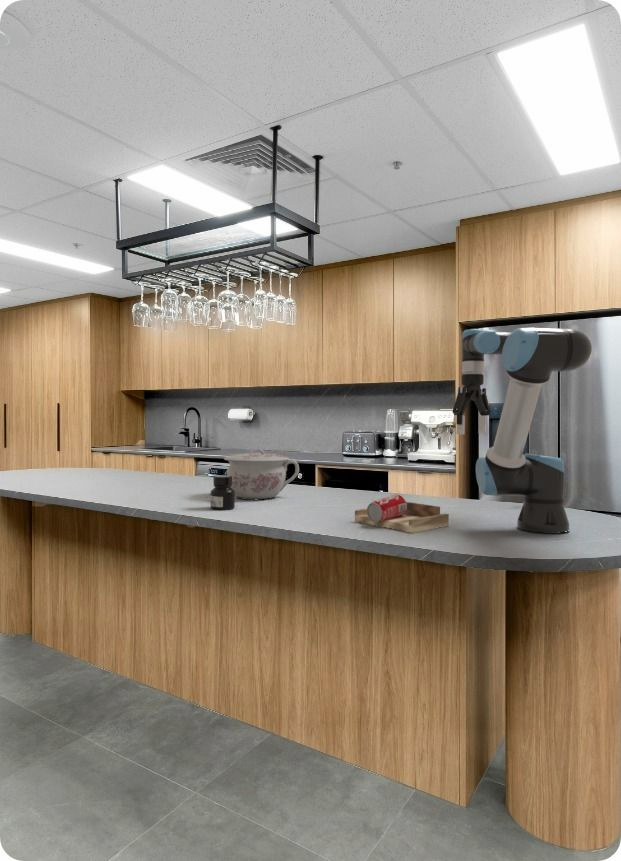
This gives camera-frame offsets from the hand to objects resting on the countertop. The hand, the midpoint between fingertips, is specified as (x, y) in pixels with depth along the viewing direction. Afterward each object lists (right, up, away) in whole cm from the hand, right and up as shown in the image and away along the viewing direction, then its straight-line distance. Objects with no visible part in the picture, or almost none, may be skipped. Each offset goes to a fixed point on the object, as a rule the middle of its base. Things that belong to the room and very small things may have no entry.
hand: (471, 434), depth 211 cm
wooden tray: (-28, -29, -19) cm, 44 cm away
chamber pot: (-80, -27, +39) cm, 92 cm away
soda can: (-28, -23, -15) cm, 39 cm away
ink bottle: (-90, -28, +9) cm, 94 cm away
